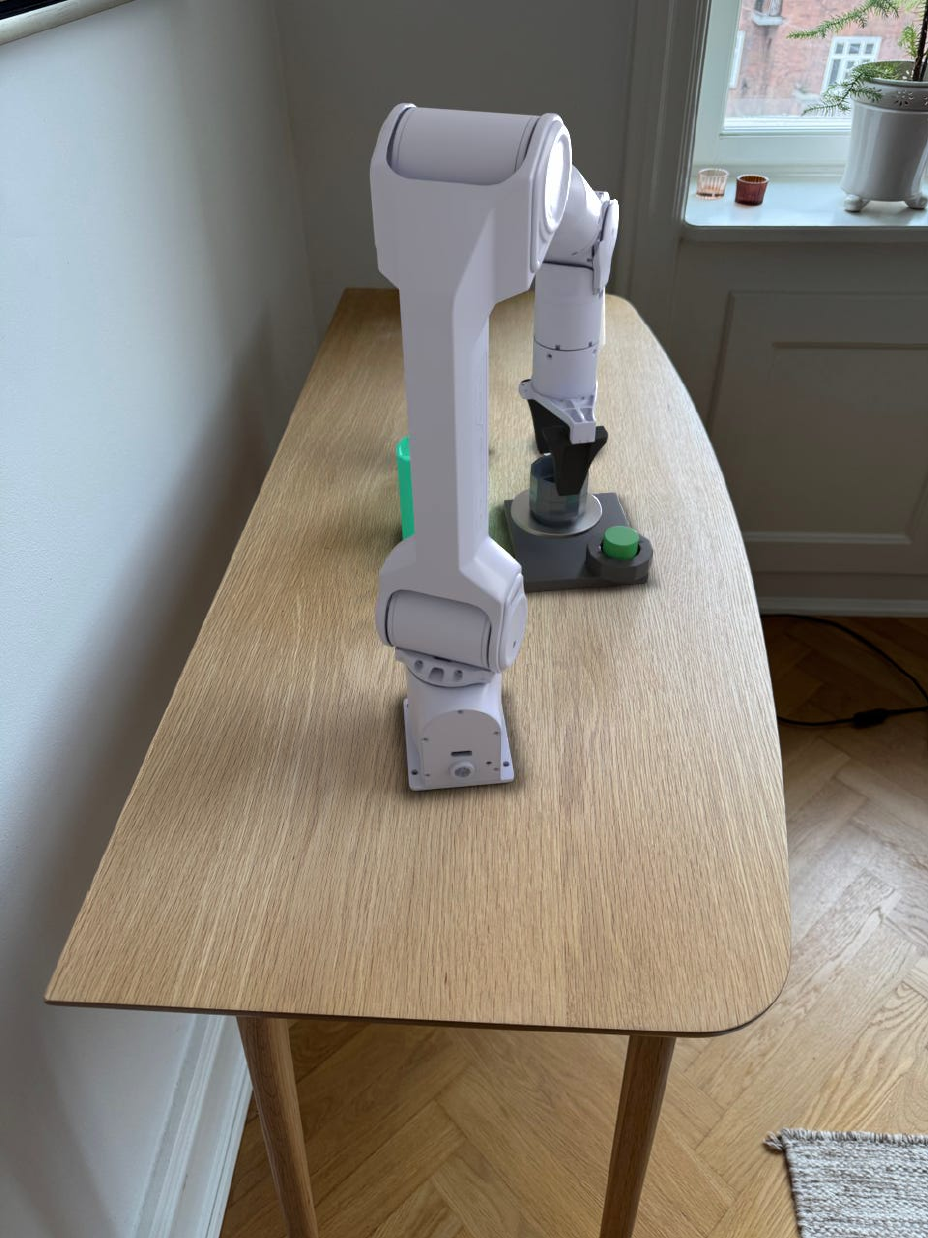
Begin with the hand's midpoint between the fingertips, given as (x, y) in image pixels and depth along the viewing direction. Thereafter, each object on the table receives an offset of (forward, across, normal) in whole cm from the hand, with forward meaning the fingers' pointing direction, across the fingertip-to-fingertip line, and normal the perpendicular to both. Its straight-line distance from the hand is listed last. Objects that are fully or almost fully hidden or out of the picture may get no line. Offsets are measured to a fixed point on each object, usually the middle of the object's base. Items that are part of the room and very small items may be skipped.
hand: (558, 471), depth 88 cm
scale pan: (+5, 0, 0) cm, 5 cm away
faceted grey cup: (+4, 0, 0) cm, 4 cm away
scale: (+8, +2, +1) cm, 8 cm away
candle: (+8, -2, -13) cm, 15 cm away
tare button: (+5, +7, +5) cm, 10 cm away
